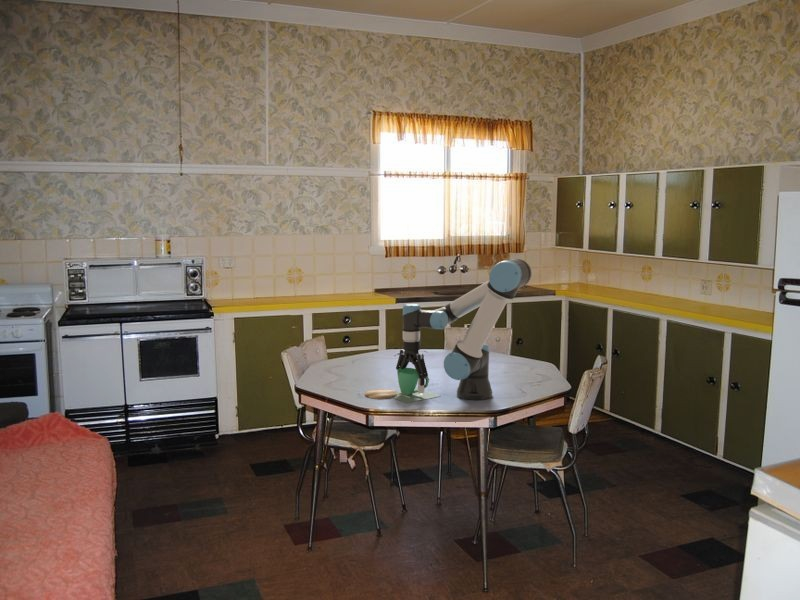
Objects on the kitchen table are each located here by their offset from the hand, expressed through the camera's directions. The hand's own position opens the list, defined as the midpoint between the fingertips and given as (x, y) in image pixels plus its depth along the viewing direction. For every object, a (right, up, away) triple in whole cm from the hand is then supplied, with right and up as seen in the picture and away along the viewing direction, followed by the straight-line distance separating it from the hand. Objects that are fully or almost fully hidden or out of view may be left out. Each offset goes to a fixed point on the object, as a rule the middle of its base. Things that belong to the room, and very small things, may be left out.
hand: (411, 389), depth 315 cm
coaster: (-13, -2, +1) cm, 13 cm away
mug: (0, -2, 0) cm, 2 cm away
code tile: (0, -2, 0) cm, 2 cm away
